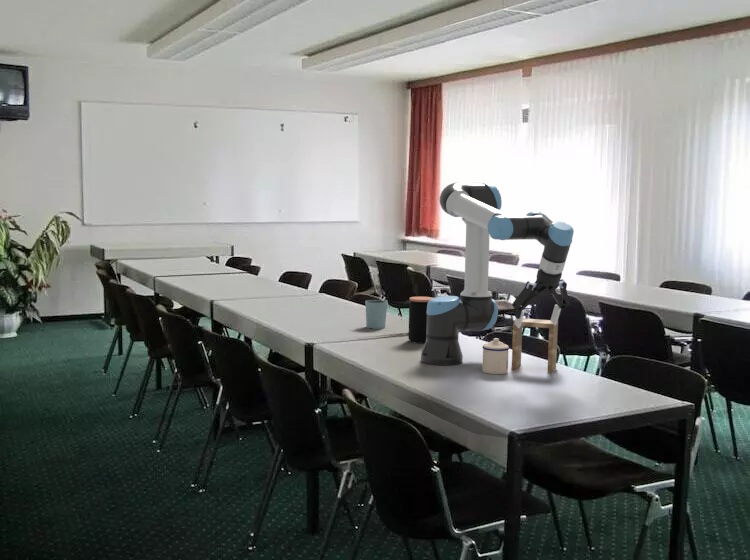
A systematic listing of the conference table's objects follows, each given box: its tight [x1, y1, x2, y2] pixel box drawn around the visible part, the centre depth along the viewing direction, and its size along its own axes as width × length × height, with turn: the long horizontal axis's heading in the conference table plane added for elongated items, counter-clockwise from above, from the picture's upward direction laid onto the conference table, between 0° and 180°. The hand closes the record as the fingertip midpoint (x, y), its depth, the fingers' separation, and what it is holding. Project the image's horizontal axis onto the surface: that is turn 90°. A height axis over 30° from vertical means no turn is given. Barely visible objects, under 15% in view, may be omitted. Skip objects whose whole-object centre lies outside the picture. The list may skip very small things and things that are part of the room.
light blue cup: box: [364, 299, 389, 330], centre depth 360 cm, size 10×10×12 cm
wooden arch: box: [511, 317, 559, 374], centre depth 278 cm, size 14×8×17 cm, turn 67°
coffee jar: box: [407, 296, 434, 344], centre depth 327 cm, size 11×11×18 cm
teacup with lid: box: [481, 337, 510, 375], centre depth 274 cm, size 12×9×12 cm
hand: (535, 324), depth 263 cm, fingers open, 13 cm apart
